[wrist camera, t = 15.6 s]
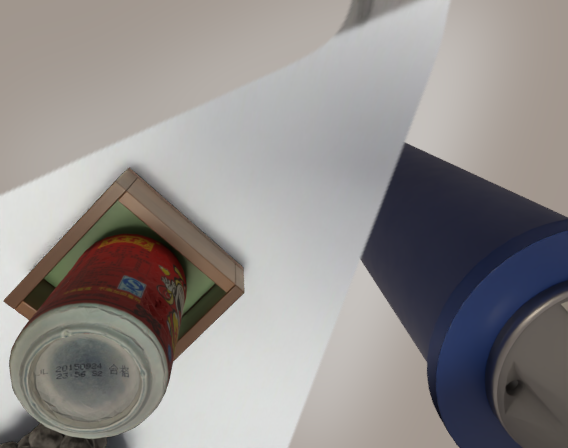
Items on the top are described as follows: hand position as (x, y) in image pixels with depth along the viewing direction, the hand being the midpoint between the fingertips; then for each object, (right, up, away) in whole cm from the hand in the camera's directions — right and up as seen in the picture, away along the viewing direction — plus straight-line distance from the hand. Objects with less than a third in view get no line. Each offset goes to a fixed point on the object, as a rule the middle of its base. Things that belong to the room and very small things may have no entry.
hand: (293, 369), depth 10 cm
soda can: (-10, -1, +25) cm, 27 cm away
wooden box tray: (-10, 0, +25) cm, 27 cm away
